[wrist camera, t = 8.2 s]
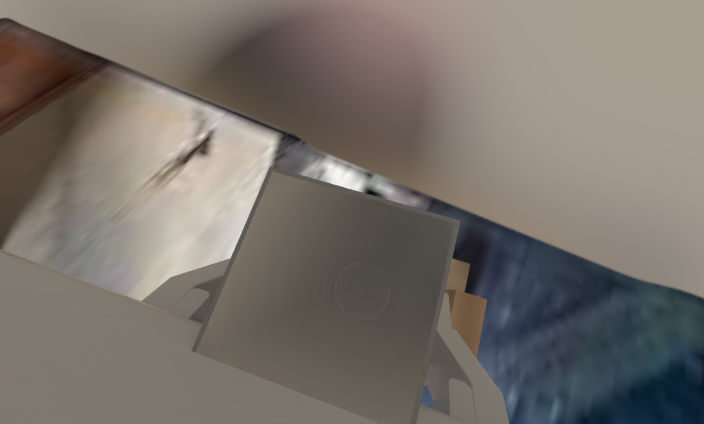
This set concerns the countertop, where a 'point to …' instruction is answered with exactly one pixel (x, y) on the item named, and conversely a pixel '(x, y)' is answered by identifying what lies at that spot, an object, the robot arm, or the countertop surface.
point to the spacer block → (334, 296)
